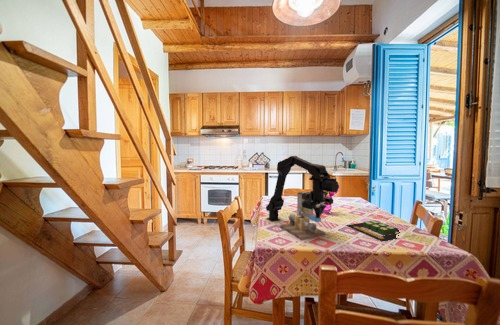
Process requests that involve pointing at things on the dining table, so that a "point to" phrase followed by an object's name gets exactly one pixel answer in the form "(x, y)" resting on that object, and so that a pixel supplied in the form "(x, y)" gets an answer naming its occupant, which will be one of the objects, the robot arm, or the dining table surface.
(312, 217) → the lever
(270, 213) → the robot arm
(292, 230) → the valve board
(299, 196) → the coffee box
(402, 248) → the dining table surface
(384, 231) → the sushi
